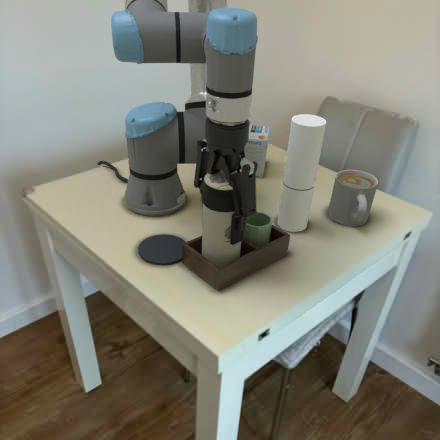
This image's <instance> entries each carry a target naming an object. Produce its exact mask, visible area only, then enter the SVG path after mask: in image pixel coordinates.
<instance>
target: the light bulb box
mask: <svg viewBox="0 0 440 440" xmlns="http://www.w3.org/2000/svg"><path fill="white" fill-rule="evenodd" d="M269 135H270V126H267V125H254V124H250V126H249V138H248V142H247V143H246V145H245V148H244V151H245V156H246V159H247V160H249V161H250V162H254V161H255V162H257V164H258V167H257V171H256V177H260V178H261V177H262V178H263V177H264V173H265V166H266V160H267V153H268V152H267V151H268V143H269V137H270V136H269Z"/></svg>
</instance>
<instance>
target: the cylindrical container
mask: <svg viewBox="0 0 440 440" xmlns="http://www.w3.org/2000/svg"><path fill="white" fill-rule="evenodd" d="M290 121H291V122H290V129H289V135H288V143H287V151H286V158H285V164H284V171H283V179H282V185H281V186H282V187H281V194H280V200H279V207H278V208H279V209H278V216H277V226H278V228H279V229H281V230H283V231H285V232H286V231H287V232H292V233H299V232H302V231H305V230H306V229H307V227H308V221H309V216H310V211H311V206H312V200H313V196H314V190H315V184H316V181H317V180H316V178H317V174H318V169H319V163H320V158H321V152H322V149H323V142H324V136H325V132H326V131H325V130H326V126H327V120H326V118H324V117H321V116H320V115H315V114H311V113H310V114H309V113H301V114H295V115H293V116H292V117H291V120H290Z"/></svg>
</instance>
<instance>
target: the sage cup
mask: <svg viewBox="0 0 440 440" xmlns="http://www.w3.org/2000/svg"><path fill="white" fill-rule="evenodd" d="M272 225H273V218H272V216H271V215H270V214H268V213H266V212H264V211H258V210H257V212H256V214H254V215H252V216H250V217H247V223H246V229H244V234H243V238H244V239H246V240H247V241H249V242H250V243H252V244H253V245H255V246H256V247H258V248H260V247H262V246H264V245H266V244H268V243H270V236H271V228H272Z"/></svg>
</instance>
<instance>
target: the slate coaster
mask: <svg viewBox="0 0 440 440" xmlns="http://www.w3.org/2000/svg"><path fill="white" fill-rule="evenodd" d="M185 242H187V241H186V240H185V239H184V238H182V237H180V236H177V235H174V234H167V233H165V234H162V233H161V234H155V235H152V236H149V237H146V238H145V239H143V240H142V241H141V242H140V243H139V245H138V247H137V253H138V255H139V257H140V259H142V260H143V261H144V262H146V263H148V264H152V265H157V266H168V265H169V266H170V265H174V264H176V263H177V264H178V263H179V262H181V261H182V244H183V243H185Z"/></svg>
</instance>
